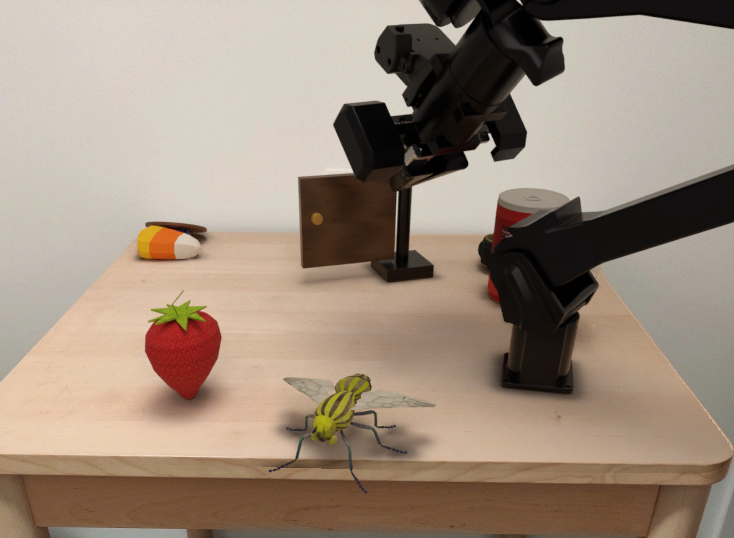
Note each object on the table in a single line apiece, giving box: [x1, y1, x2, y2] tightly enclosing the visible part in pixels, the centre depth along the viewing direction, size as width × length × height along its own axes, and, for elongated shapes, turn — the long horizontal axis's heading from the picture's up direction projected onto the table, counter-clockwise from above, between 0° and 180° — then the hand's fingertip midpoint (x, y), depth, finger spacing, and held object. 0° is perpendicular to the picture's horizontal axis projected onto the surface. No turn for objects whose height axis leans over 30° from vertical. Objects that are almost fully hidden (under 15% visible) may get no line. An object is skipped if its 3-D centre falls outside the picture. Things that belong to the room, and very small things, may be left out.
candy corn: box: [136, 226, 202, 260], centre depth 96 cm, size 6×3×8 cm
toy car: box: [144, 221, 208, 236], centre depth 101 cm, size 8×8×2 cm
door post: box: [370, 186, 435, 283], centre depth 89 cm, size 6×6×12 cm
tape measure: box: [477, 232, 494, 268], centre depth 93 cm, size 7×7×4 cm
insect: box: [268, 373, 437, 495], centre depth 59 cm, size 13×11×5 cm
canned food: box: [487, 187, 571, 304], centre depth 83 cm, size 8×8×11 cm
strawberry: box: [144, 289, 223, 400], centre depth 63 cm, size 6×8×10 cm
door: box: [297, 172, 398, 269], centre depth 87 cm, size 12×2×10 cm, turn 109°
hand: (393, 187), depth 75 cm, fingers closed
